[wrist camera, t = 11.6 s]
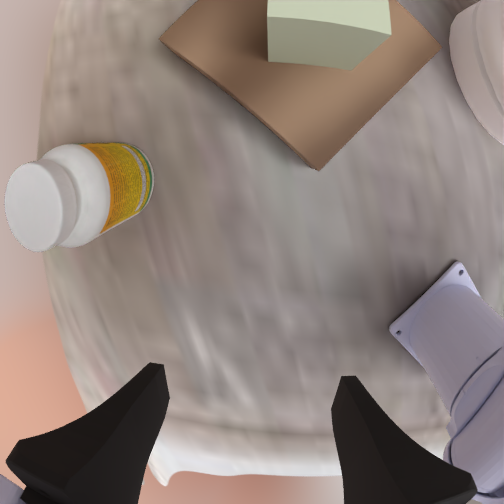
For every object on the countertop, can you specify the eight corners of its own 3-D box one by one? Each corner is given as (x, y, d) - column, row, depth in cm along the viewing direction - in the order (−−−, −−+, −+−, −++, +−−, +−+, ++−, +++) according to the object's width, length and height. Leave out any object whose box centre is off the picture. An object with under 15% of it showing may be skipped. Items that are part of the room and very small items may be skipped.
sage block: (349, 5, 12) (380, -47, 6) (351, 70, 13) (391, 35, 8) (270, -4, 12) (270, -63, 6) (268, 61, 13) (267, 16, 8)
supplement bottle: (113, 230, 20) (29, 285, 11) (80, 169, 19) (-16, 193, 10) (171, 193, 19) (95, 233, 10) (134, 126, 18) (40, 120, 9)
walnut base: (422, 57, 15) (442, 47, 12) (311, 167, 18) (318, 171, 15) (293, -47, 13) (295, -69, 10) (173, 52, 16) (158, 38, 13)
